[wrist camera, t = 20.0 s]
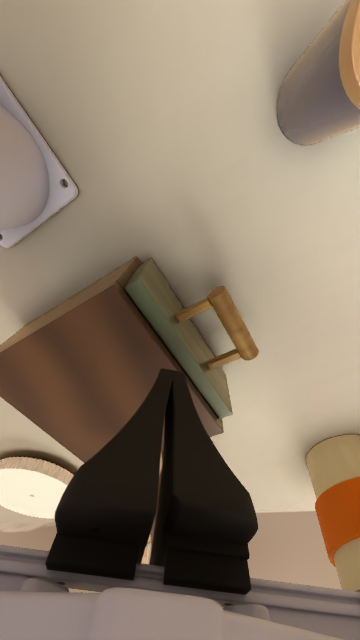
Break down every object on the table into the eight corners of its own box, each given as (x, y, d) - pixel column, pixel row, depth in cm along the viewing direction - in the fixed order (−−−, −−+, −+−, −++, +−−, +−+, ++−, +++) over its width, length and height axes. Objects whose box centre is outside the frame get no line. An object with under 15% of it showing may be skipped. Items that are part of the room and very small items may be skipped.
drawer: (198, 229, 17) (199, 242, 13) (265, 359, 22) (282, 398, 18) (39, 325, 22) (3, 357, 18) (126, 413, 27) (114, 454, 23)
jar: (263, 82, 14) (336, -27, 7) (346, 21, 13) (540, -191, 6) (289, 163, 16) (366, 141, 9) (364, 117, 14) (526, 47, 7)
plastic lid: (102, 475, 35) (96, 495, 33) (64, 508, 41) (57, 526, 39) (11, 436, 32) (-2, 455, 29) (-17, 478, 37) (-30, 496, 35)
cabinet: (136, 256, 19) (112, 284, 13) (216, 376, 25) (224, 433, 19) (24, 326, 23) (-33, 371, 17) (116, 416, 29) (96, 473, 23)
